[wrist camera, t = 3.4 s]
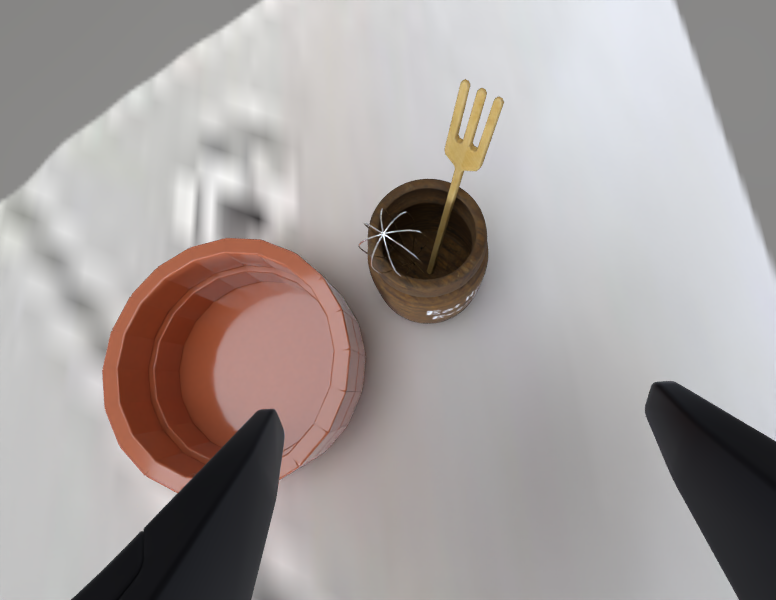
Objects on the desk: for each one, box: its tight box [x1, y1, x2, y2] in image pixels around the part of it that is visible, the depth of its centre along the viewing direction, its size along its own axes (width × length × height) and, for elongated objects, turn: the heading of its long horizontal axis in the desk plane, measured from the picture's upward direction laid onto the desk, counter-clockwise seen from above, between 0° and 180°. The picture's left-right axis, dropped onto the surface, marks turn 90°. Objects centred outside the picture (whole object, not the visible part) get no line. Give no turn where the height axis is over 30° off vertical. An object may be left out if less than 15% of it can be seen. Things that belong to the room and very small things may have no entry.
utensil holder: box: [358, 79, 504, 323], centre depth 18 cm, size 6×6×12 cm
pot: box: [102, 238, 366, 493], centre depth 21 cm, size 12×12×5 cm
